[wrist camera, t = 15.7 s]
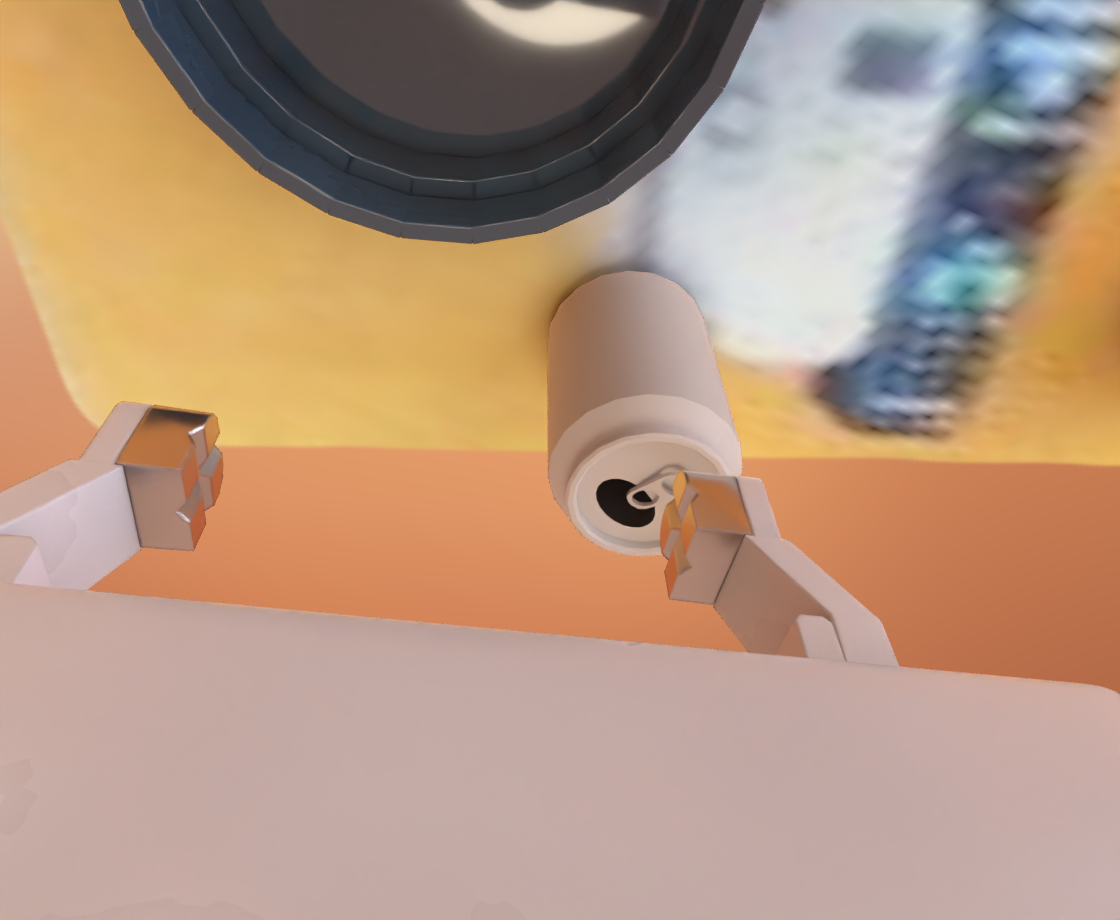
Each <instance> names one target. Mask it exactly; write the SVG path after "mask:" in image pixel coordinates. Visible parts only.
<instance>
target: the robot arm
mask: <svg viewBox="0 0 1120 920" xmlns="http://www.w3.org/2000/svg"><path fill="white" fill-rule="evenodd" d="M219 433H220V431H219V425H218V418H217V417H216V416H215V414H214V413H207V412H200V411H193V410H186V409H179V408H172V407H165V406H158V405H154V406H153V405H148V404H141V403H134V402H126V401H123V402H121V403H118V404H117V405H116V406H115V407H114V409H113V410H112V411H111V413H110V414H109V416H108V417H107V419H106V420H105V422H104V423H103V425H102V426H101V428H100V429H99V431H98V432H97V434H96V435H95V437H94V438H93V440H92V441H91V442H90V444H89V445H88V447H87V448H86V450H85V451H84V453H83V454H82V456H81V457H80V458H79V460H71V459H69V460H67V461H65V462H63V463H60V464H58V465H56V466H54V467H52V468H50V469H47V470H45V471H43V472H41V473H39V474H37V475H35V476H33V477H30V478H28V479H26V480H24V481H22V482H20V483H18V484H16V485H13V486H11V487H9V488H7V489H5V490H3V491H1V492H0V920H1120V694H1118V693H1117V692H1115V691H1113V690H1110V689H1107V688H1104V687H1100V686H1096V685H1090V684H1081V683H1072V682H1061V681H1049V680H1039V679H1028V678H1017V677H1006V676H996V675H983V674H973V673H963V672H952V671H941V670H931V669H920V668H909V667H899V665H898V662H897V660H896V657H895V655H894V652H893V650H892V647H891V645H890V642H889V640H888V637H887V635H886V632H885V630H884V627H883V625H882V623H881V621H880V620H879V619H878V618H877V617H876V616H875V615H873V614H872V613H871V612H870V611H869V610H868V609H867V608H865V607H864V606H863V605H862V604H861V603H860V602H859V601H858V600H856V599H855V598H854V597H853V596H852V595H851V594H850V593H848V592H847V591H846V590H845V589H844V588H843V587H841V585H839V584H838V583H837V582H836V581H835V580H834V579H833V578H831V577H830V576H829V575H828V574H827V573H826V572H825V571H823V570H822V569H821V568H820V567H819V566H818V565H817V564H816V563H814V562H813V561H812V560H811V559H810V558H809V557H808V556H806V555H805V554H804V553H803V552H802V551H801V550H800V549H798V548H797V547H796V546H795V545H794V544H793V543H791V541H789V540H785V539H781V536H780V533H779V530H778V527H777V524H776V521H775V518H774V515H773V512H772V509H771V506H770V503H769V499H768V497H767V493H766V490H765V487H764V484H763V481H762V480H761V479H759V478H754V477H744V476H734V475H733V476H727V475H718V474H710V473H701V472H692V471H684V470H680V471H679V472H678V474H677V476H676V478H675V481H674V483H673V486H672V487H673V492H674V499H673V500H672V501H670V502H669V503H667V504H666V507H665V510H664V513H663V516H662V522H661V529H660V546H661V553H662V554H663V556H664V557H665V558H666V559H667V560H668V563H667V566H666V569H665V578H666V583H667V590H668V596H669V599H670V600H678V601H686V602H694V603H702V604H710V605H714V606H713V607H714V608H715V610H716V611H717V612H718V614H719V615H720V616H721V618H722V619H723V620H724V621H725V623H726V624H727V625H728V626H729V628H730V629H731V630H732V631H733V633H734V634H735V635H736V637H737V638H738V639H739V640H740V642H741V643H742V644H743V646H744V647H745V648H746V650H747V651H748V652H738V651H728V650H718V649H706V648H695V647H684V646H673V645H663V644H652V643H642V642H630V641H620V640H610V639H599V638H589V637H578V636H568V635H556V634H546V633H536V632H525V631H514V630H504V629H493V628H483V627H472V626H460V625H449V624H439V623H428V622H418V621H406V620H395V619H385V618H374V617H363V616H353V615H342V614H332V613H322V612H310V611H300V610H290V609H279V608H268V607H257V606H247V605H236V604H226V603H215V602H204V601H194V600H183V599H172V598H162V597H151V596H141V595H140V596H139V595H130V594H119V593H109V592H98V591H87V590H88V589H89V588H90V587H92V586H93V585H94V584H96V583H97V582H98V581H99V580H101V579H102V578H104V577H105V576H106V575H108V574H109V573H110V572H112V571H113V570H115V569H116V568H117V567H118V566H120V565H121V564H123V563H124V562H125V561H126V560H128V559H129V558H131V557H132V556H133V555H135V554H136V553H137V552H139V551H140V550H141V548H140V547H142V548H156V549H169V550H182V551H194V549H195V547H196V545H197V543H198V540H199V538H200V536H201V534H202V531H203V529H204V527H205V525H206V519H205V511H206V510H207V509H209V508H211V507H212V506H214V505H215V502H216V500H217V498H218V495H219V492H220V488H221V483H222V478H223V458H222V452H221V451H220V450H219V449H218V448H217V447H216V446H215V445H214V444H215V442H216V440H217V438H218V435H219Z"/></svg>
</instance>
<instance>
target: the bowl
mask: <svg viewBox="0 0 1120 920" xmlns="http://www.w3.org/2000/svg"><path fill="white" fill-rule="evenodd" d="M765 1H766V0H119V2H120V4H121V6H122V8H123V10H124V13H125V15H126V17H127V19H128V21H129V23H130V26H131V28H132V30H134V32H135V34H136V36H137V37H138V38H139V40H140V41H141V43H142V44H143V45H144V47H145V48H146V50H147V51H148V52H149V54H150V55H151V56H152V58H153V59H154V61H155V62H156V63H157V65H158V66H159V68H160V69H161V70H162V72H163V73H164V74H165V76H166V77H167V79H168V80H169V81H170V83H171V84H172V85H173V87H174V88H175V90H176V91H177V92H178V94H179V95H180V97H181V98H182V99H183V101H184V102H185V103H186V105H187V106H188V108H189V109H190V110H193V111H192V112H193V113H194V114H195V115H196V116H197V117H198V118H199V119H200V120H201V121H202V122H203V123H205V124H206V125H207V126H208V127H209V128H210V129H211V130H212V131H213V132H214V133H215V134H216V135H218V136H219V137H220V138H221V139H222V140H223V141H224V142H225V143H226V144H227V145H228V146H229V147H231V148H232V149H233V150H234V151H235V152H236V153H237V154H238V155H239V156H240V157H241V158H242V159H244V160H245V161H246V162H247V163H248V164H249V165H250V166H251V167H252V168H253V169H254V170H256V171H258V172H259V173H260V174H261V175H263V176H265V177H266V178H268V179H270V180H271V181H273V182H275V183H276V184H278V185H280V186H281V187H283V188H285V189H286V190H288V191H290V192H291V193H293V194H295V195H296V196H298V197H300V198H301V199H303V200H305V201H306V202H308V203H310V204H312V205H313V206H315V207H317V208H318V209H320V210H322V211H323V212H325V213H328V214H329V215H331V216H334V217H337V218H340V219H343V220H346V221H349V222H353V223H356V224H359V225H362V226H365V227H368V228H371V229H374V230H377V231H380V232H383V233H386V234H389V235H392V236H395V237H398V238H400V237H401V238H407V239H419V240H431V241H444V242H456V243H468V244H471V243H473V244H476V243H482V242H488V241H494V240H500V239H507V238H513V237H519V236H525V235H531V234H537V233H542V232H546V231H548V230H550V229H553V228H555V227H557V226H559V225H562V224H564V223H566V222H569V221H571V220H573V219H575V218H578V217H580V216H582V215H584V214H587V213H589V212H591V211H594V210H596V209H598V208H600V207H603V206H605V205H607V204H609V203H610V202H612V201H614V200H615V199H616V198H618V197H619V196H620V195H621V194H623V193H624V192H625V191H626V190H628V189H629V188H630V187H632V186H633V185H634V184H635V183H637V182H638V181H639V180H641V179H642V178H643V177H644V176H646V175H647V174H648V173H650V172H651V171H652V170H653V169H655V168H656V167H657V166H659V165H660V164H661V163H662V162H664V161H665V160H666V159H668V158H669V157H670V156H671V154H673V153H674V152H675V151H676V150H677V148H678V147H679V146H680V145H681V143H682V142H683V141H684V140H685V138H686V137H687V136H688V134H689V133H690V132H691V131H692V129H693V128H694V127H695V126H696V124H697V123H698V122H699V121H700V119H701V118H702V117H703V116H704V114H705V113H706V112H707V111H708V109H709V108H710V107H711V105H712V104H713V103H714V102H715V100H716V99H717V98H718V97H719V95H720V94H721V93H722V92H723V90H724V88H725V87H726V85H727V83H728V81H729V79H730V76H731V74H732V72H733V70H734V68H735V66H736V64H737V62H738V60H739V57H740V55H741V53H742V51H743V49H744V47H745V45H746V43H747V41H748V38H749V36H750V34H751V32H752V30H753V28H754V26H755V24H756V22H757V19H758V17H759V15H760V13H761V11H762V9H763V7H764V3H765Z"/></svg>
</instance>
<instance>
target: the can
mask: <svg viewBox="0 0 1120 920" xmlns="http://www.w3.org/2000/svg"><path fill="white" fill-rule="evenodd" d="M547 383H548V479H549V483H550V486H551V490H552V493H553V497H554V499H555V501H556V502H557V503H558V505H559V506H560V507H561V508H562V510H563V511H564V512H565V514H566V515H567V516H568V517H569V519H570V521H571V522H572V524H573V525H574V526H575V528H576V529H577V530H578V531H579V533H580V534H581V535H582V536H583V537H584V538H586V539H588V540H589V541H591V542H592V543H594V544H595V545H597V546H598V547H600V548H603V549H606V550H609V551H613V552H616V553H619V554H622V555H636V556H652V555H658V554H662V553H661V546H660V529H661V522H662V516H663V513H664V510H665V507H666V504H667V503H669V502H670V501H672V500H673V499H674V492H673V487H672V486H673V483H674V481H675V478H676V476H677V474H678V472H679V471H680V470H684V471H692V472H701V473H710V474H718V475H727V476H733V475H734V476H740V475H741V472H742V457H741V445H740V442H739V439H738V435H737V432H736V428H735V425H734V421H733V418H732V414H731V411H730V407H729V404H728V400H727V397H726V394H725V390H724V387H723V383H722V380H721V376H720V373H719V369H718V366H717V362H716V359H715V355H714V352H713V349H712V345H711V342H710V338H709V335H708V331H707V328H706V324H705V321H704V318H703V316H702V314H701V312H700V310H699V308H698V306H697V304H696V302H695V300H694V298H692V297H691V296H690V295H689V294H688V293H687V292H686V291H685V290H684V289H683V288H681V287H680V286H679V285H678V284H677V283H675V282H673V281H671V280H668V279H666V278H664V277H661V276H659V275H657V274H654V273H647V272H637V271H622V272H617V273H611V274H606V275H601V276H599V277H597V278H595V279H593V280H591V281H589V282H587V283H585V284H583V285H581V286H580V287H578V288H577V289H576V290H575V291H574V292H573V293H572V294H571V295H570V296H569V297H568V298H567V299H565V300H564V301H563V302H562V303H561V304H560V306H559V308H558V310H557V312H556V314H555V316H554V318H553V320H552V322H551V324H550V329H549V337H548V345H547Z"/></svg>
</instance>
